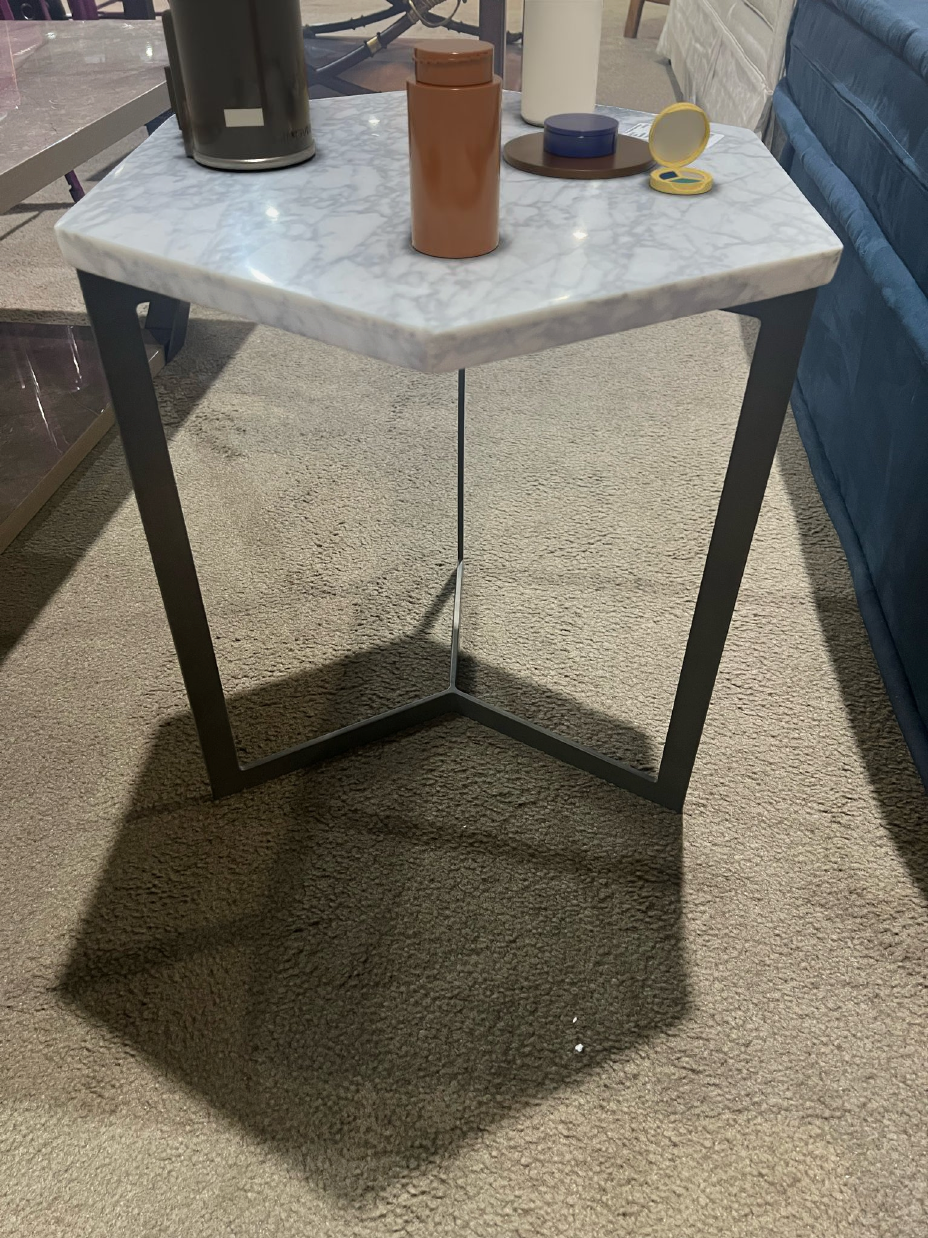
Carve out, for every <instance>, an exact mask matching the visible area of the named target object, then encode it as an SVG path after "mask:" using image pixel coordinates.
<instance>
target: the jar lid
mask: <svg viewBox="0 0 928 1238" xmlns="http://www.w3.org/2000/svg"><path fill="white" fill-rule="evenodd" d="M619 126H620V122H619V121H618V120H617V119H616V118H615V117H612V116H609V115H603V114H597V113H594V114H590V113H566V114H558V115H554V116H550V117H548V118H546V119H545V121H544V127H543V132H544V136H543V149H544V150H545V151H547V152H548V153H551V154H554V155H557V156H563V157H570V158H595V157H602V156H607V155H610V154H612V153H614V152H615V151H616V148H617V138H618V134H619Z"/></svg>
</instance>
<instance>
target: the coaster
mask: <svg viewBox="0 0 928 1238" xmlns="http://www.w3.org/2000/svg"><path fill="white" fill-rule="evenodd" d="M543 136H544V131H537V132H532V133H527V134H524V135H520V136H517V137H514V138H512V139H510V140H509V141H507V142H506V143H505V144H504V145H503V153H502V154H503V159H504V161H505V162H506V163H507V164H509V165H510V166H512V167H513V168H516V169H519V170H521V171H524V172H528V173H531V174H535V175H540V176H546V177H551V178H552V177H553V178H562V179H576V180H577V179H578V180H594V179H595V180H597V179H598V180H599V179H612V178H620V177H625V176H626V177H627V176H631V175H635V174H636V175H637V174H639V173H642V172H646V171H648V170H649V169H651V168H652V167H654V166H655V165H656V163H657V162H656V161H655V160H654V158H653V157H652V155H651V152H650V149H649V141H646V140H643V139H641V138H638V137H635V136H631V135H627V134H623V133H618V138H617V148H616V151H615V152H614V153H612V154H610V155H607V156H602V157H595V158H570V157H563V156H557V155H554V154H551V153H548V152H547V151H545V150H544V149H543Z"/></svg>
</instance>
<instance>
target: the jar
mask: <svg viewBox="0 0 928 1238" xmlns="http://www.w3.org/2000/svg"><path fill="white" fill-rule="evenodd" d="M413 48H414V49H413V53H414V54H413V55H412V56H411V59H412V62H414V73H413V74H410V75H409V76H407V78H406V79H405V83H406V111H407V112H406V113H407V115H406V116H407V136H408V137H407V139H408V141H407V142H408V143H407V144H408V166H409V167H408V169H409V172H408V173H409V200H410V201H409V202H410V224H411V225H410V227H411V244H412V247H413V248H414V249H415V250H417V251H418V252H420V253H422V254H424V255H428V256H432V257H437V258H445V259H446V258H447V259H460V258H461V259H463V258H472V257H477V256H482V255H485V254H487V253H490V252H492V251H494V250H495V249H496V248H498V246H499V242H500V241H499V240H500V200H501V199H500V196H501V159H502V157H501V156H502V117H503V78H502V77H501V76H500V75H498V74H496V73H495V45H494V44H493V43H491V42H488V41H485V40H480V39H471V38H439V39H430V40H429V39H428V40H423V41H420V42H419V43H415V45H414V46H413Z"/></svg>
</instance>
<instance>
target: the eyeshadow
mask: <svg viewBox="0 0 928 1238" xmlns="http://www.w3.org/2000/svg"><path fill="white" fill-rule="evenodd" d="M710 135H711V123H710V120H709V118H708V116H707V113H706V112H704V110H703V109H701V108H700V107H699V106H698V105H696V104H694V103H691V102H684V101H683V102H676V103H674V104H670V105H669V106H667V107H665V108H663V110H661V112H659V114H657V116H656V117H655V119H654V120H653V122H652V124H651V126H650V128H649V132H648V143H649V149H650V152H651V155H652V157H653V158H654V160H655V161H656V163H657V164H658V165H660V166H662V168H656V169H655V170H653V171H652V172H650V179H649V186H650V187H651V188H652V189H654V190H656V191H658V192H662V193H666V194H671V195H672V194H673V195H674V194H675V195H698V194H703V193H707V192H708V191H710V190H711V189H712V185H713V180H714V177H713V175H712V174H711V173H710V172H707V171H705V170H702V169H698V168H693V167H686V166H688V165H690V164H692V163H693V162H694V161H696V160H697V159H698V158H699V157H700V156H701V155H702V154H703V152H704V151H705V149H706V148H707V146H708V143H709V140H710Z"/></svg>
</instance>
